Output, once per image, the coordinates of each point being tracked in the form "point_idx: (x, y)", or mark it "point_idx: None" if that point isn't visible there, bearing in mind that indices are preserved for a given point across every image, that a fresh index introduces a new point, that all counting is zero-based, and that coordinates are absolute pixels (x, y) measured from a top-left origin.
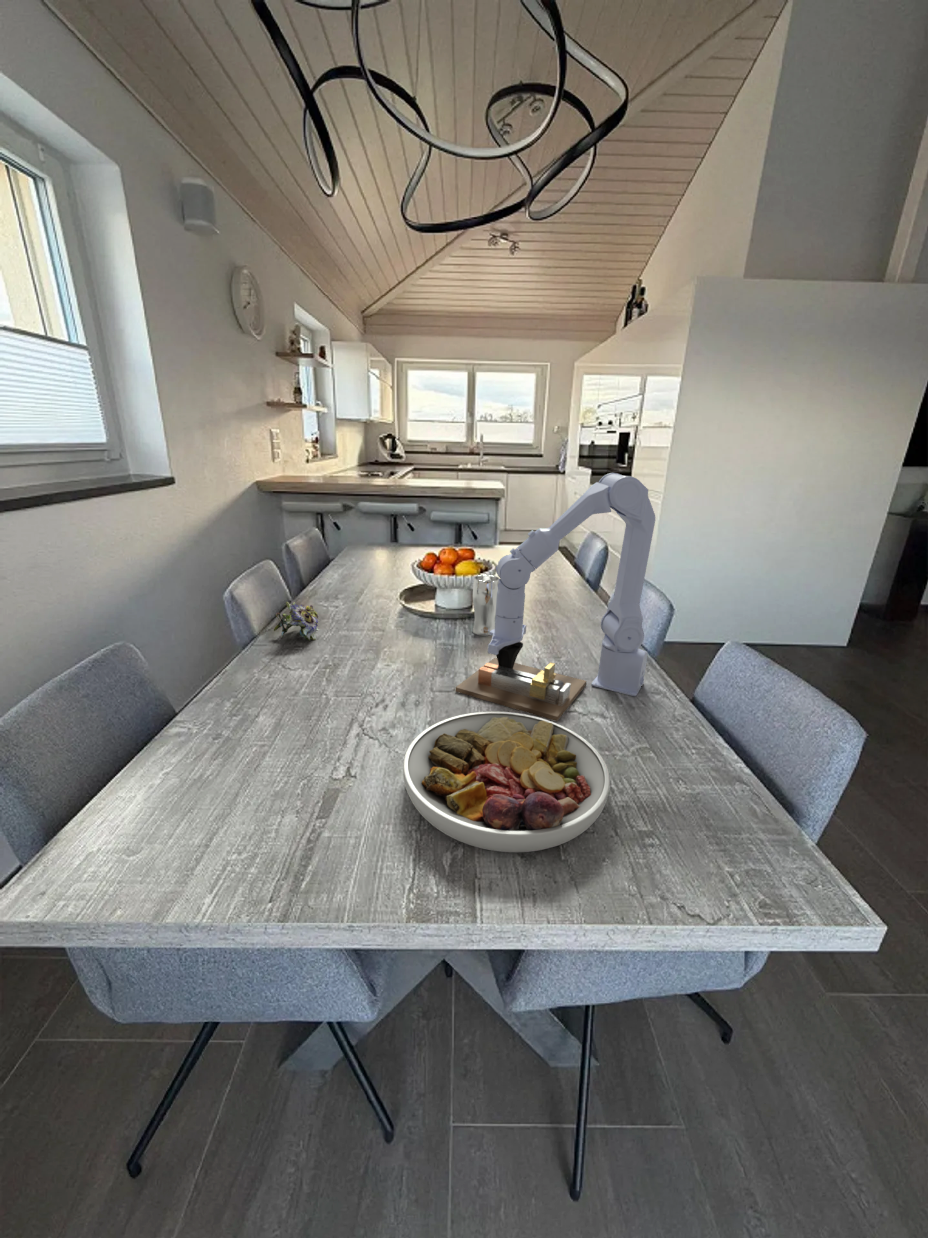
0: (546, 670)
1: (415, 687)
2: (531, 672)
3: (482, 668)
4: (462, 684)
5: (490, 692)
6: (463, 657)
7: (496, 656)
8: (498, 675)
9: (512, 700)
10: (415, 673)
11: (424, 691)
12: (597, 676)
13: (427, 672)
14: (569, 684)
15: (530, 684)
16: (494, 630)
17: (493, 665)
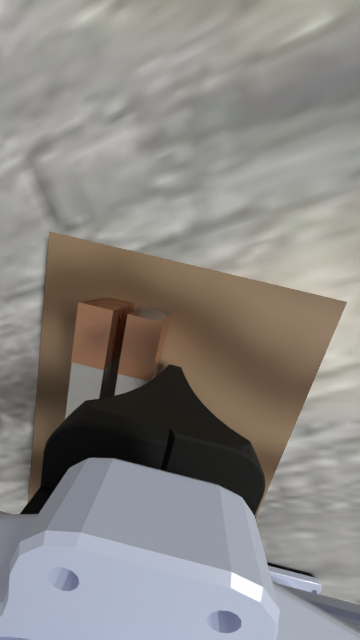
0: None
1: (25, 77)
2: (247, 438)
3: (92, 316)
4: (78, 248)
5: (66, 348)
6: (352, 166)
7: (137, 388)
8: (72, 387)
9: (50, 411)
10: (132, 11)
11: (15, 128)
12: (281, 576)
13: (160, 64)
14: None
15: None
16: (179, 636)
17: (142, 354)
